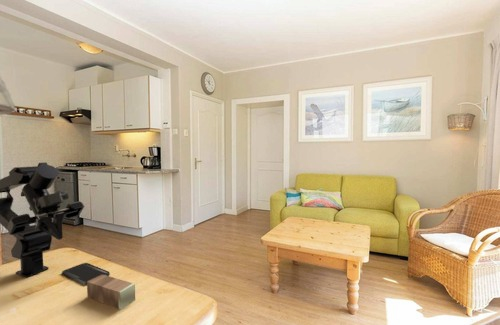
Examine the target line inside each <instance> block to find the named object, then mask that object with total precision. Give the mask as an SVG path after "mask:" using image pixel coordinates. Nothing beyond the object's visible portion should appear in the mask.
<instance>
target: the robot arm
mask: <svg viewBox="0 0 500 325" xmlns="http://www.w3.org/2000/svg"><path fill="white" fill-rule="evenodd" d="M59 175H60V171H59V169H58V168H56V167H55V166H53V165H49V164H48V162H39V163H38V164H37V165H35V166H17V167H13V168H12V169H10V171H9V172H8V175H7V176H4V177H3V178H0V194H2V193H6V197H0V225H1V226H2V227H4V228H5V229H6V230H7V233H8V234H9V235H11V236H13V237H14V238H16V240H15V243H14V245H13V246H12V248H11V249H10V250H11V251H10V252H11V257H12V258H15V259H18V260H20V262H19V263H20V270H17V271H15V274H16V275H18V276H22V277H25V278H29V277H30V276H33V275H36V274H38V273H42V272H44V271H46V270H49V266H46V265H44V252H46V251H50V250H51V246H52V245H51V244H52V241H53V238H55V239H57V240H58V241H60V240H62V239H63V236H64V235H63V222H64V220H65V219H72V218H75V217H76V218H77V217H78V216H80V215H81V213H82V212H83V210H84V208H85V205H84V203H83V202H81V201H75V202H71V203H69V202H68V203H67V205H66V207H65V208H61V206H62V205H61V203H64V202H65V201H66V200H68V199H69V196H70V195H69V193H68V192H67V190H66V189H61V190H58V191H57V192H54V193H50V192H49V191H48V189H50V188H52V186H53V185H54V183H55V181H56V180H57V178H58V177H59ZM22 185H24V186H23V187H22V189H21V193H20V196H21V197H25V199H26V201H27V203H28V205H29V211H32V213H33V214H34V216H30V214H29V213H24V214H20V215H18V213H16V212H15V211H14V210H12V206H13V202H14V197H13V196H12V194H11V190H14V189H15V188H18V187H21V186H22ZM60 208H61V209H60ZM32 224H33V225H32Z"/></svg>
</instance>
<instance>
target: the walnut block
mask: <svg viewBox="0 0 500 325" xmlns="http://www.w3.org/2000/svg"><path fill="white" fill-rule="evenodd" d="M86 290H87V292H86V293H87V296H86V297H87V298H88V299H91V300H93V301H96V302H99V303H102V304H104V305H107V306H110V307H113V308H116V309H117V310H118V309H119V310H122V309H124V308H125V307H127V306H128V305H130V304H131V303H133V302H134V301H136V284H135V283H133V282H130V281H127V280H123V279H120V278H116V277H113V276H110V275H109V276H106V275H103V274H102V275H100V276H98V277H96V278H94V279H91V280H89V281H87V285H86Z"/></svg>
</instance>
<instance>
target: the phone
mask: <svg viewBox="0 0 500 325" xmlns="http://www.w3.org/2000/svg"><path fill="white" fill-rule="evenodd" d="M102 274H103V275H106V276H110V274H111V273H110V271H108V270H106V269H103V268H100V267H99V266H95V265H93V264H91V263H88V262H82V263H80V264H77V265H75V266H72V267H70V268H66V269H64V270H62V272H61V275H63V276H65V277H67V278H68V279H70V280H73V281H75V282H77V283H79V284H81V285H84V286H87V281H89V280H91V279H94V278H96V277H98V276H100V275H102Z"/></svg>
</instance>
